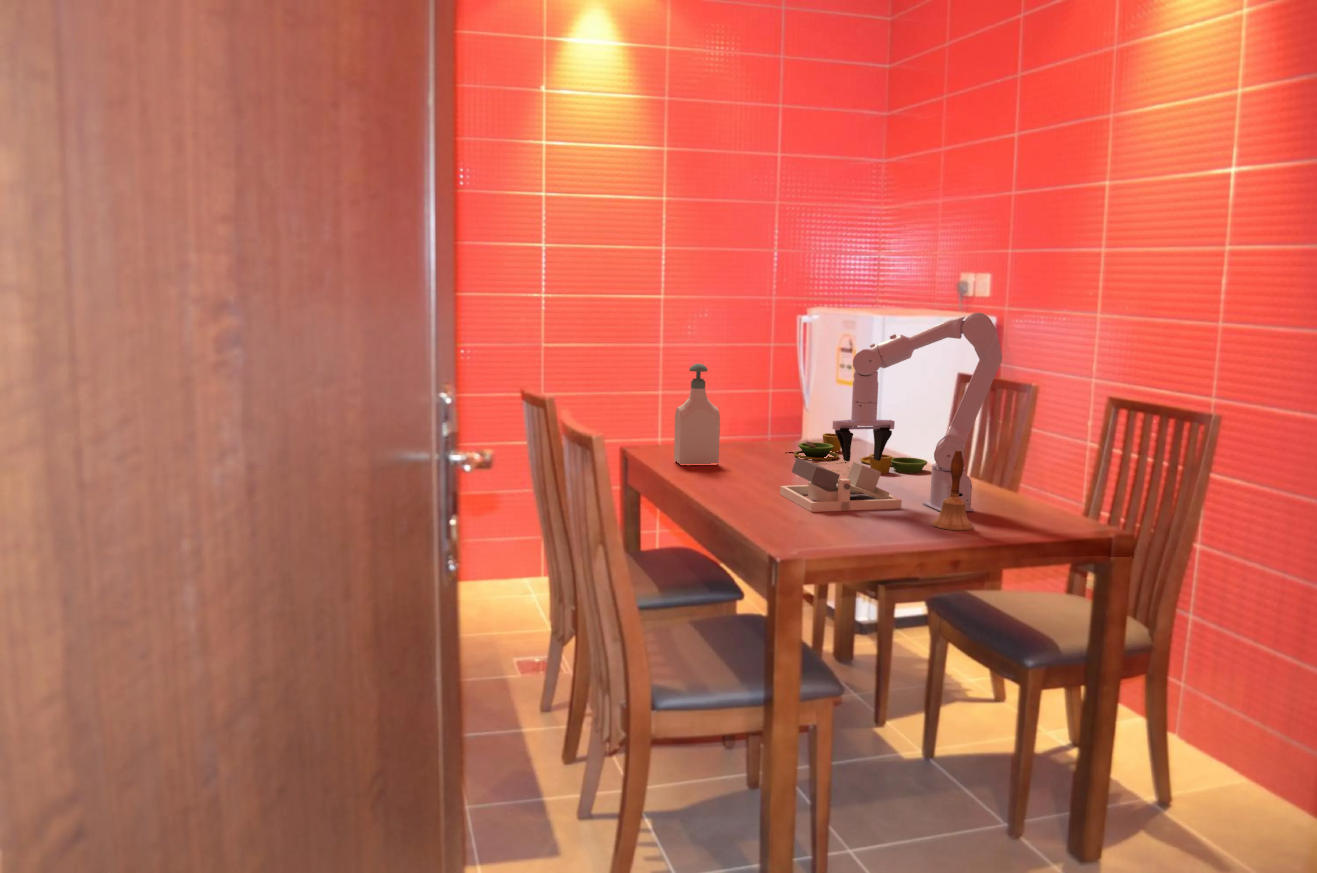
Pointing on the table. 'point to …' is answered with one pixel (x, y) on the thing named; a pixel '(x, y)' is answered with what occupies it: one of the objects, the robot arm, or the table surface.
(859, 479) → the beige cube
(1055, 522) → the table surface
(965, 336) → the robot arm
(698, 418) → the soap bottle
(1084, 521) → the table surface
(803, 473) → the trapdoor
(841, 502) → the frame
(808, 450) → the tableware set
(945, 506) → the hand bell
